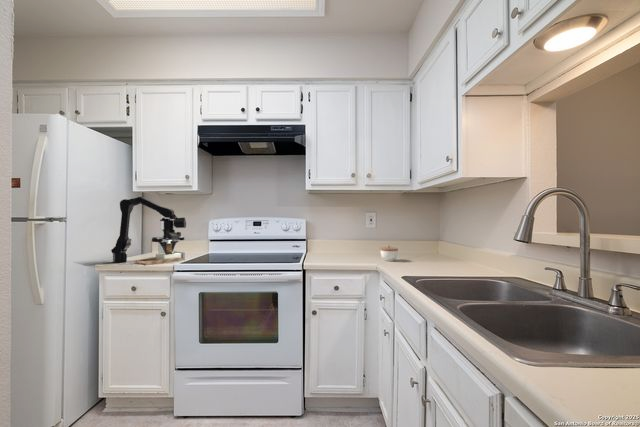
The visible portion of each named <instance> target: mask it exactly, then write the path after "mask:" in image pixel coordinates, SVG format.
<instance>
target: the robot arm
mask: <svg viewBox="0 0 640 427" xmlns="http://www.w3.org/2000/svg"><path fill="white" fill-rule="evenodd" d="M140 204H141V205H143V206H145V207H147V208H149V209H152V210H153V211H156V212H158V213H159V214H160V215H161V216H162V218H161V219H160V220H159V222H163V229H162V232H163V235H162V236H156V237H155V236H154V237H152V238H151V243H152V242H153V243H157V244H158V243H160V245H161V246H162V248H163V250H164V252H165V253H166V243H167V242H165V240H172V241H170V243H172V252H173V251H174V249H175V246H176V244H177V243H179V242H180V241H185V236H184V235H182V232H181V231H177V232H175V229H174V227H175V228H176V229H183V228H184V229H185V228H187V221H186V218H185V217H178V216H176V214H175V211H174V209H172V208H169V207H164V206H162V205H159V204H157V203H155V202H153V201H151V200H149V199H146V198H145V197H143V196H138V197H135V198H134V197H133V198H129V199H121V200H120V202H119V210H120V212H121V218H120V229H119V236H118V238H117V240H116V243H115V246H114V247H113V248H112V249H111V250H110V252H111V253H112V261H111V263H113V262H115V263H114V264H119V263H118V262H121V263H127V262H128V258H127V257H128V254H127V251H128V249H129V248H130V247H131V246H132V238H129V230H130V221H131V220H130V219H131V214H132V212H133V209H134V207H135V206H138V205H140ZM126 261H127V262H126Z"/></svg>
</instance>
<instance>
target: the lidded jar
mask: <svg viewBox="0 0 640 427" xmlns="http://www.w3.org/2000/svg"><path fill="white" fill-rule="evenodd" d="M379 249H380V250H379V251H380V257H381V259H382V260H384V261H385V262H394V261H395V260H396V259H397V257H398V250H399V249H398V248H397V247H391V246H390V245H387V247H380V248H379Z"/></svg>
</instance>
